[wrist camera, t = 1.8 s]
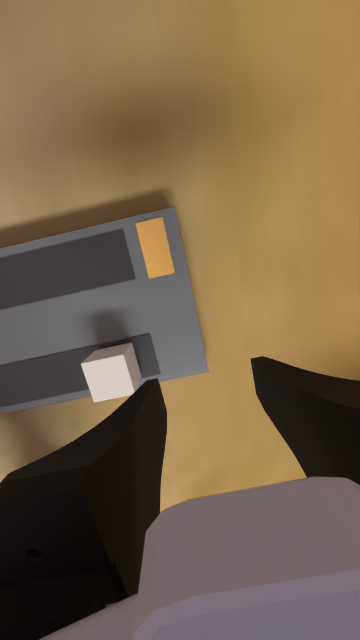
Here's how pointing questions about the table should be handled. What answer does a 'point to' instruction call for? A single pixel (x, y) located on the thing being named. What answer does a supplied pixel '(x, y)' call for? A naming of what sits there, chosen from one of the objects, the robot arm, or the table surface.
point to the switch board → (95, 308)
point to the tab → (112, 372)
